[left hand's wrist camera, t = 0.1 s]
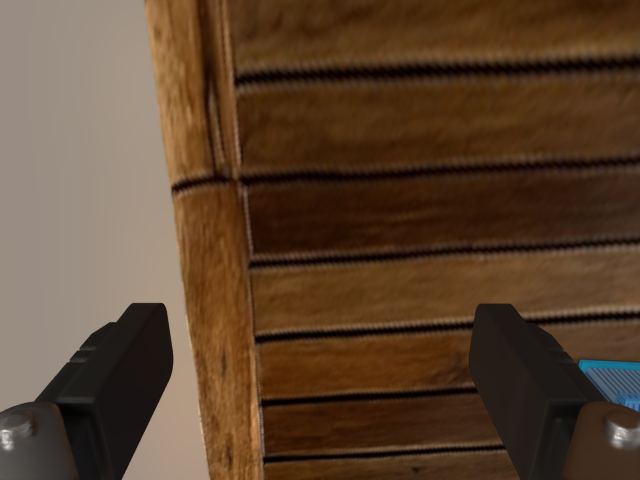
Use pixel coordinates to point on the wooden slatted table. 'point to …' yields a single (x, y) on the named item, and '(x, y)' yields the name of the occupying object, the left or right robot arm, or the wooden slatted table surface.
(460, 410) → the wooden slatted table surface
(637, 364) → the model building
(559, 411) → the left robot arm
